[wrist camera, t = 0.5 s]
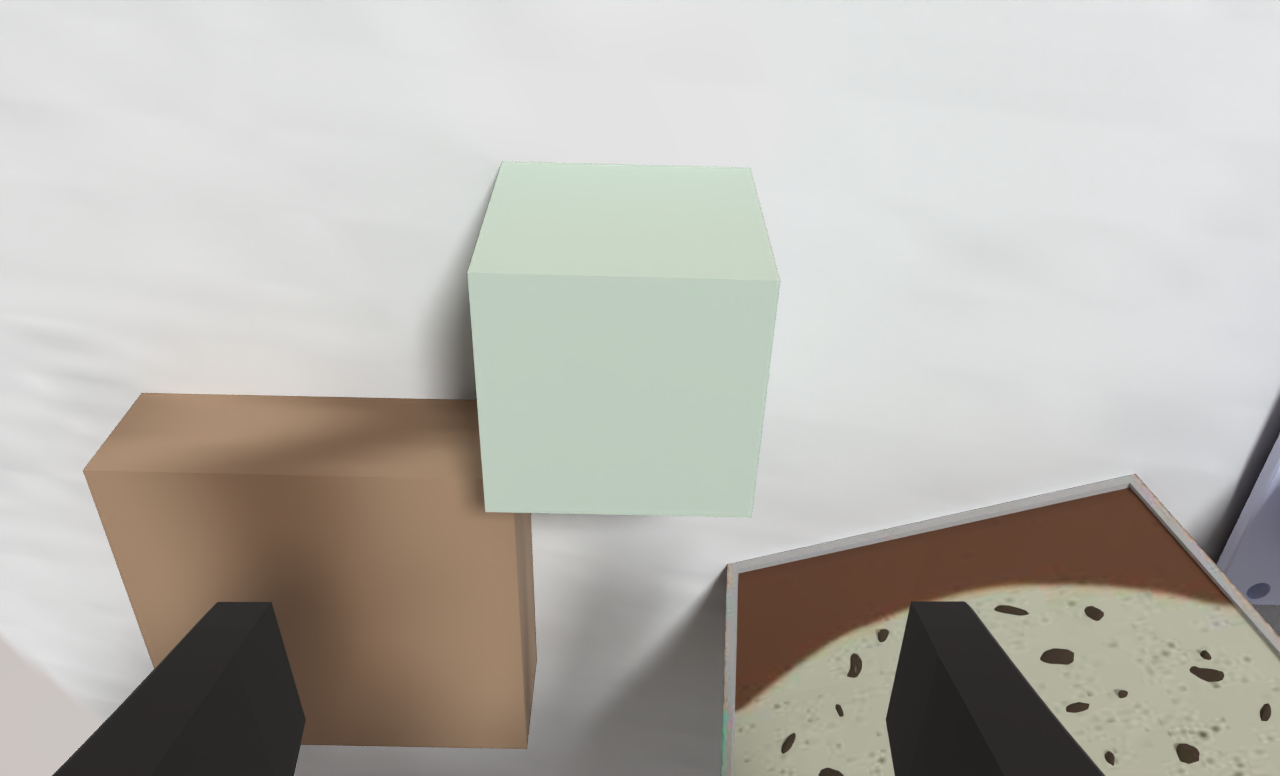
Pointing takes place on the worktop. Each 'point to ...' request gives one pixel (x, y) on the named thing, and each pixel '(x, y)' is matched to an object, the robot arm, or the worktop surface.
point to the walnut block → (333, 555)
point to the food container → (1008, 638)
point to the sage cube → (622, 339)
